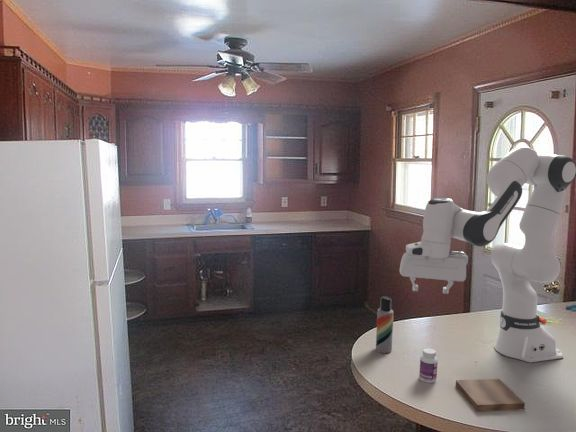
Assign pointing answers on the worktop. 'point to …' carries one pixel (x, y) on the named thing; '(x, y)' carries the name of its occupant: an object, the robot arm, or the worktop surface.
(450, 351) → the worktop surface
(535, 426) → the worktop surface
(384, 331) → the lotion bottle
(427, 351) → the pill bottle
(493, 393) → the walnut board
